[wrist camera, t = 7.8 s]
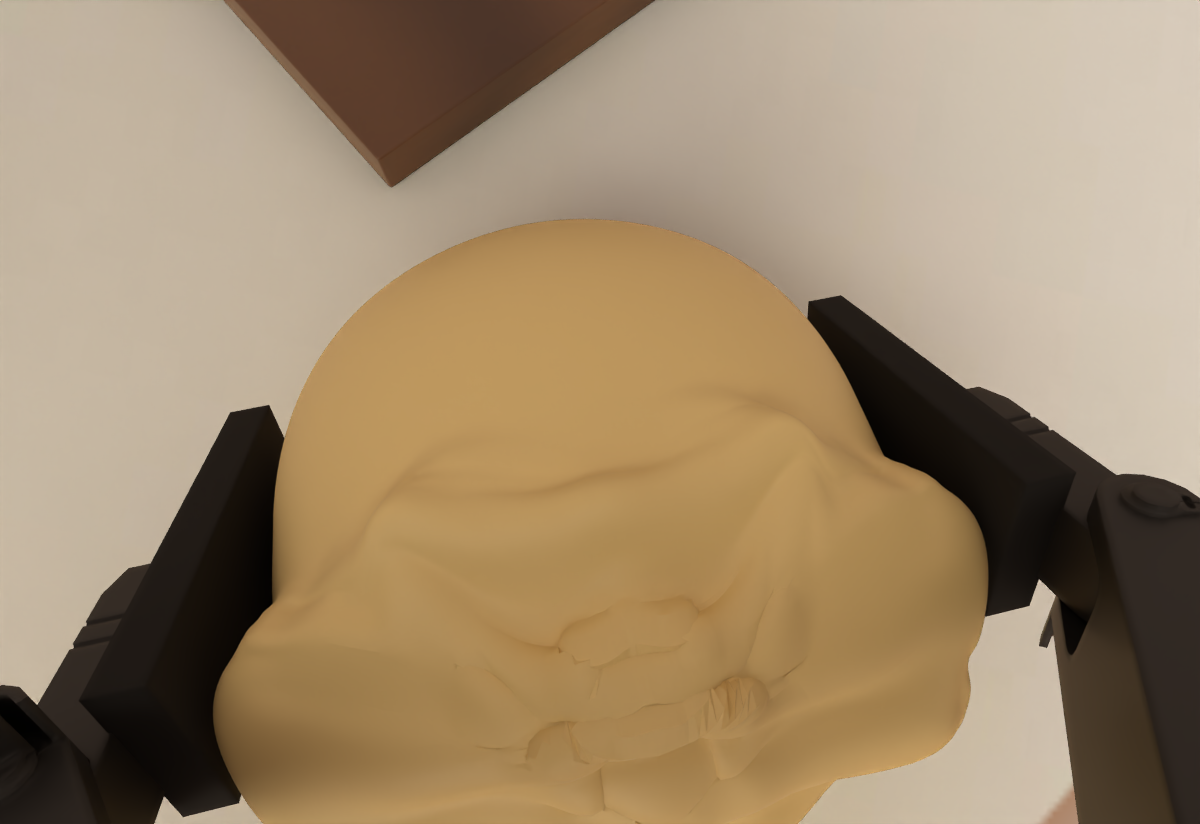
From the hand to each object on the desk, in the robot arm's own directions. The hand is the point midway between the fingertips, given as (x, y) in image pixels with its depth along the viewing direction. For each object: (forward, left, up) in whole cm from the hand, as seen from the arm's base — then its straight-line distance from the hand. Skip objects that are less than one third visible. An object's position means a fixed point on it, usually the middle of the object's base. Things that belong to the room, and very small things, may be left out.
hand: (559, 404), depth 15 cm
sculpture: (0, -3, -4) cm, 5 cm away
